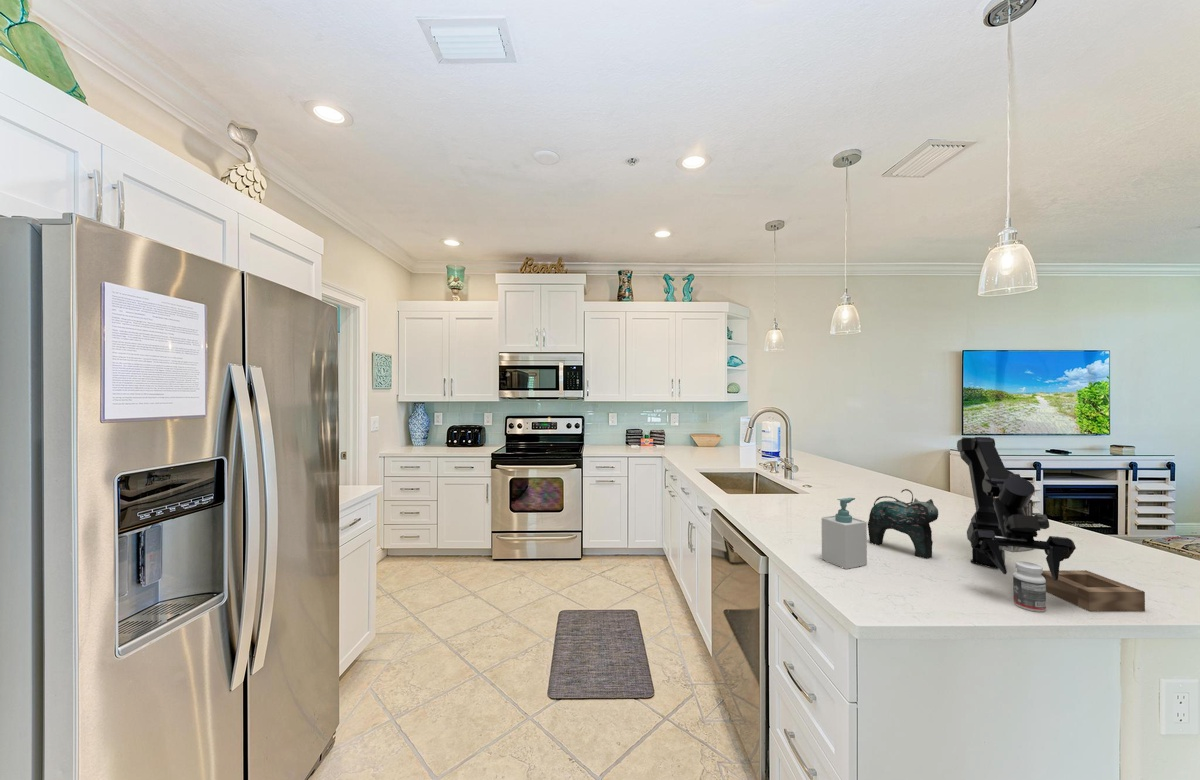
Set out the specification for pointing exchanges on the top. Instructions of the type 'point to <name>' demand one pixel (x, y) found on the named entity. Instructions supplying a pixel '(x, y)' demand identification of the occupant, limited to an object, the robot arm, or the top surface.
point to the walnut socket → (1094, 591)
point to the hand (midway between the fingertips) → (1030, 576)
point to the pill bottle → (1029, 587)
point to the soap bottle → (844, 538)
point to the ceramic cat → (904, 522)
